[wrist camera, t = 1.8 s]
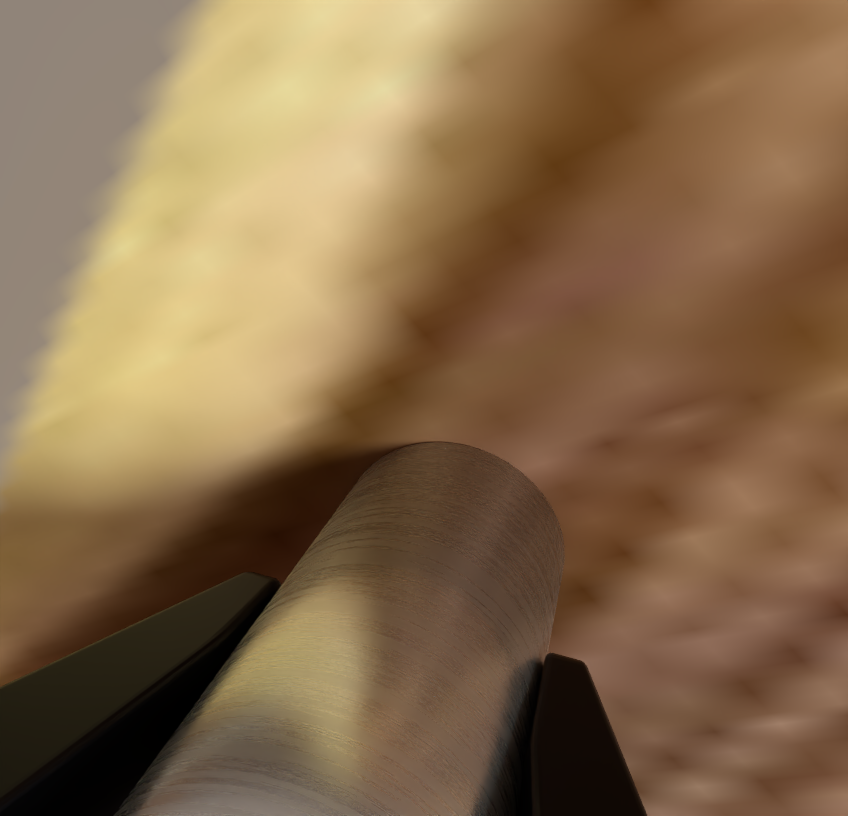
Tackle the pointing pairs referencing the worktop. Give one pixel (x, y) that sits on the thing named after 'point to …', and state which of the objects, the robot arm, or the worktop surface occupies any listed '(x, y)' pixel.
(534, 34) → the worktop surface
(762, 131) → the worktop surface
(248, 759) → the hinge pin
